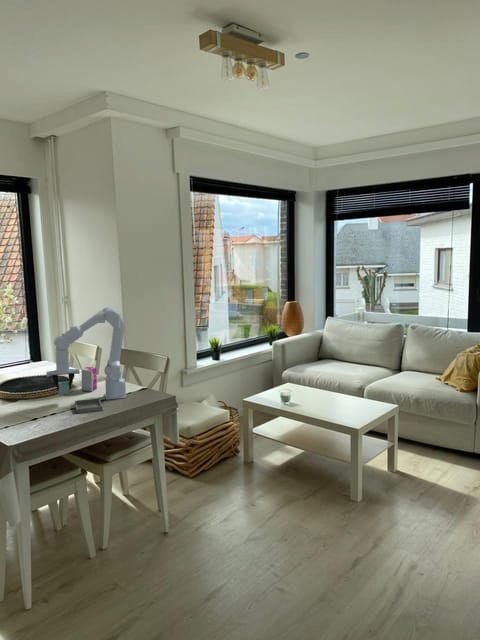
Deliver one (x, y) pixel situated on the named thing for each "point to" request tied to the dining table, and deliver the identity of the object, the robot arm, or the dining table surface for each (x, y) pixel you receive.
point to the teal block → (63, 387)
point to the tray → (88, 405)
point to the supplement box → (89, 379)
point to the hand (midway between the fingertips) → (63, 389)
